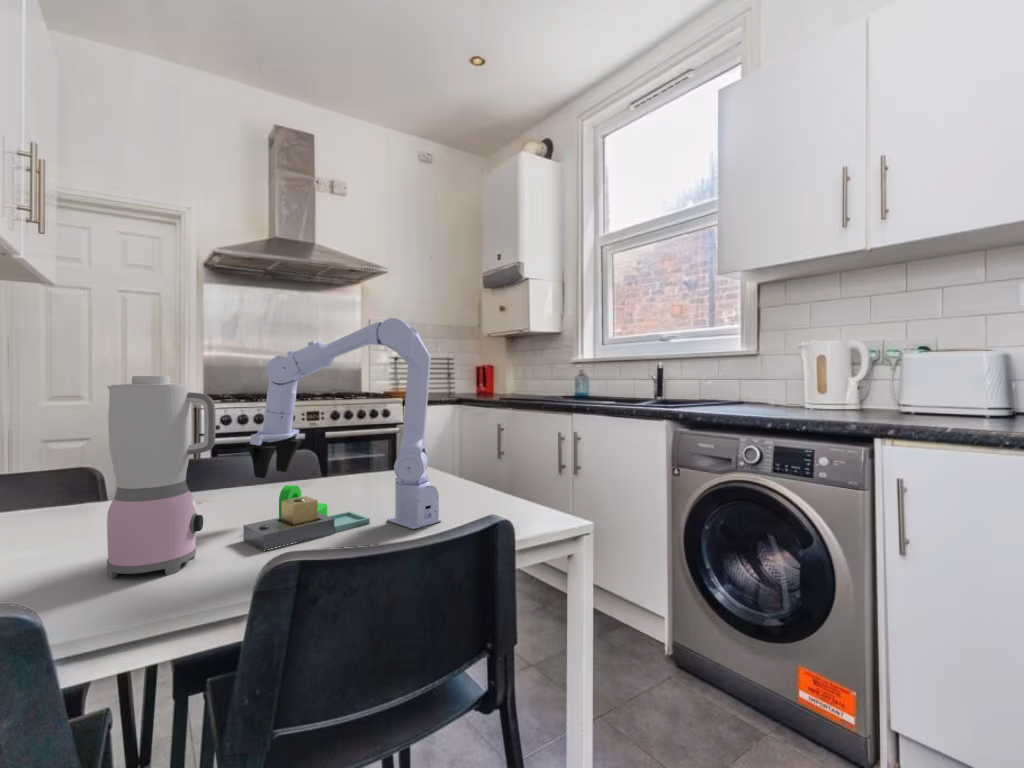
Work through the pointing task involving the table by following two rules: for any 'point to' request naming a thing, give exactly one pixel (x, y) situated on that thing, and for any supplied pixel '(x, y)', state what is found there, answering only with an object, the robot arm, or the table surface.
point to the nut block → (299, 511)
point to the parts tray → (348, 521)
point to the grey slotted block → (285, 532)
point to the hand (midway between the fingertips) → (271, 474)
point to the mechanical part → (295, 492)
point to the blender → (153, 474)
